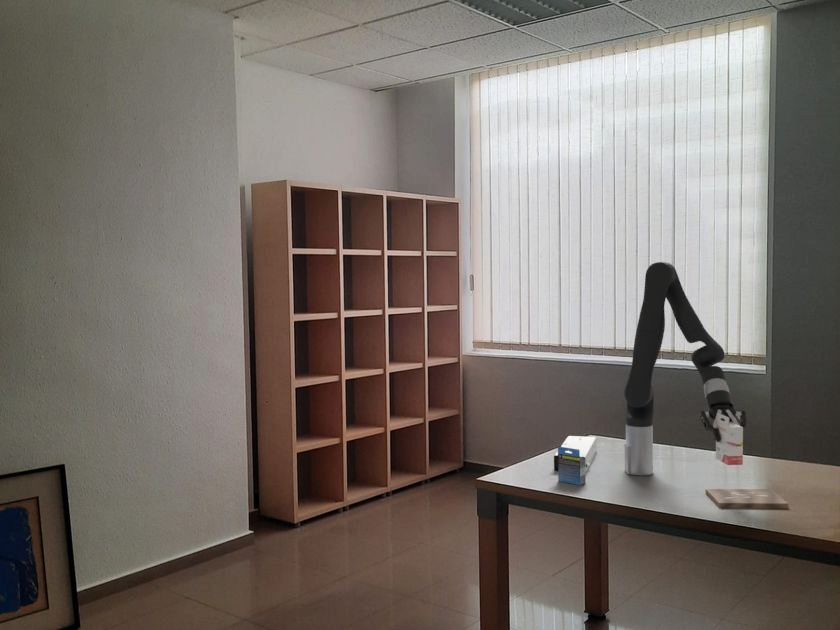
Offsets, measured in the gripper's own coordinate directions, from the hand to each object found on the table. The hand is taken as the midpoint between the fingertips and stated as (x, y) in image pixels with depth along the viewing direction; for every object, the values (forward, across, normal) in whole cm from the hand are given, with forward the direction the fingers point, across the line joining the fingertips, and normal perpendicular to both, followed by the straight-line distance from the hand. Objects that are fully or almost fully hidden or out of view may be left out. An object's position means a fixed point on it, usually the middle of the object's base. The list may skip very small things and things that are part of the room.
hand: (729, 440), depth 237 cm
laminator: (-21, -41, +49) cm, 67 cm away
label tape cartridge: (-1, -46, +28) cm, 54 cm away
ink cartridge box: (+5, 0, +5) cm, 7 cm away
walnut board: (+13, +5, +13) cm, 19 cm away
